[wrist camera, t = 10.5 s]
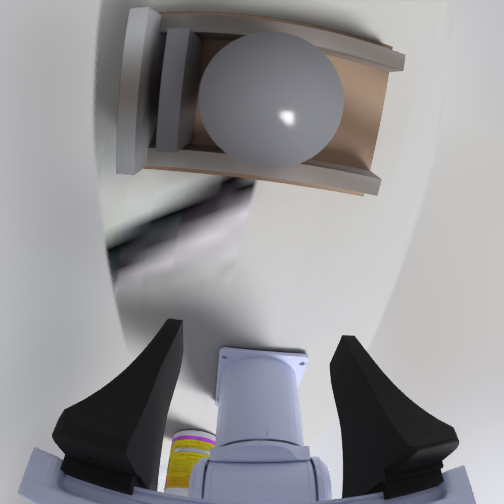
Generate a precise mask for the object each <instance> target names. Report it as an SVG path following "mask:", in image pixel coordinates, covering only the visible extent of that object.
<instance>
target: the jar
mask: <svg viewBox="0 0 504 504" xmlns="http://www.w3.org/2000/svg"><path fill="white" fill-rule="evenodd" d="M198 100H199V110H200V115H201V119H202V122H203V124H204V126H205V128H206V131H207V132H208V134H209V135H210V137H211V138H212V140H213V141H214V142H215V143H216V144H217V146H218V147H219V148H221V149H222V150H223V151H224V152H225V153H227V154H228V155H229V156H231V157H232V158H234V159H236V160H238V161H240V162H242V163H245V164H248V165H251V166H255V167H259V168H272V169H277V168H285V167H290V166H294V165H297V164H299V163H302V162H304V161H306V160H308V159H310V158H312V157H313V156H315V155H316V154H318V153H319V152H320V151H321V150H322V149H323V148H324V147H325V146H326V145H327V144H328V143H329V142H330V141H331V139H332V138H333V136H334V135H335V133H336V131H337V129H338V127H339V125H340V121H341V118H342V114H343V108H344V95H343V88H342V84H341V80H340V78H339V75H338V73H337V71H336V69H335V67H334V66H333V64H332V63H331V61H330V60H329V59H328V57H327V56H326V55H325V54H324V53H323V52H322V51H321V50H319V49H318V48H317V47H316V46H314V45H313V44H311V43H310V42H308V41H306V40H304V39H302V38H300V37H297V36H295V35H291V34H288V33H282V32H268V31H267V32H257V33H253V34H249V35H246V36H243V37H240V38H238V39H236V40H234V41H233V42H231V43H229V44H228V45H226V46H225V47H224V48H222V49H221V50H220V51H219V52H218V53H217V54H216V55H215V56H214V58H213V59H212V60H211V61H210V63H209V64H208V66H207V68H206V70H205V72H204V74H203V77H202V79H201V83H200V87H199V96H198Z"/></svg>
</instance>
